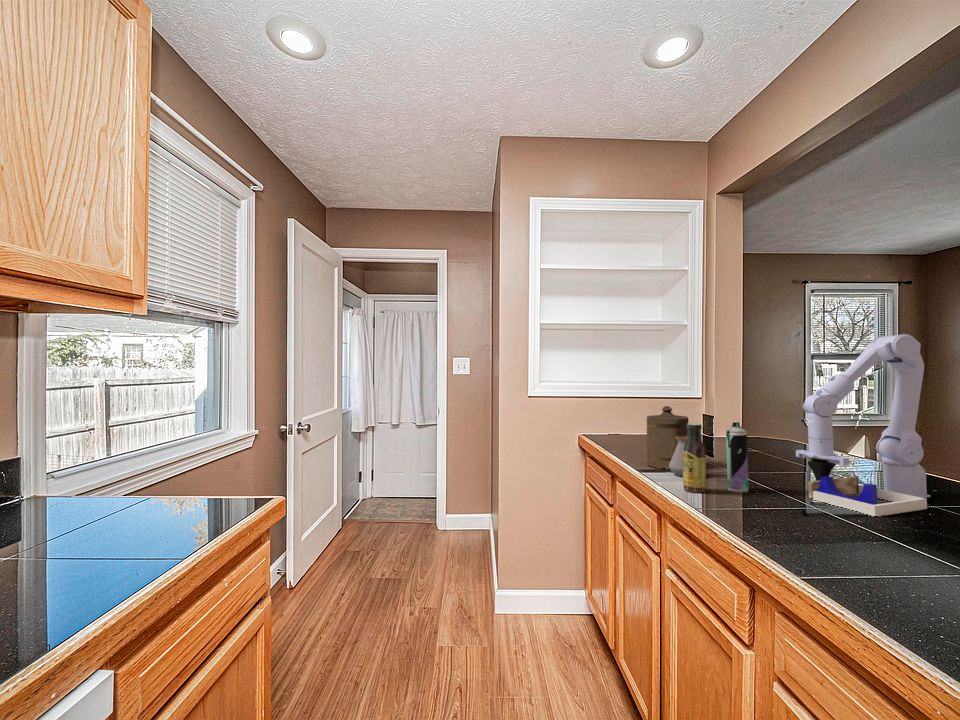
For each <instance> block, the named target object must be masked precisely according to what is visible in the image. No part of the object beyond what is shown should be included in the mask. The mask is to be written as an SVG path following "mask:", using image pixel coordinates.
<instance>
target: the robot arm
mask: <svg viewBox="0 0 960 720" xmlns="http://www.w3.org/2000/svg"><path fill="white" fill-rule="evenodd" d="M921 345H922V344H921V342H919V340H917V339H916V338H915V337H914V336H912V335H910V334H909V333H908V334H906V333H902V334H895V335H880V336H877V337H875V338H874V339H873V340H872V341H871V342H869V343H868V344H867V345H866V346H865V348H864V349H863V351H862V352H861V354H860V355H858V356H857V358H855V360H854V361H853V362H852V363H851V364H850V365H849V366H848V368H846V369H845V371H844V372H843V373H842V374H841V373H840V374H839V373H838V374H834V375H831V376H829V377H828V378H827V382H826V383H825V384H823V386H822V387H820V388H819V389H816V390H815V394H811V395H809V396H808V397H806V398H805V400H804V402H803V404H802V408H803V409H802V410H804V412H805V413H806V416H807V437H808V441H807V442H808V450H805V449H796V450H795V457H796V458H804V459H809V460H808V461H807V465H808V466H809V468H810V470H811V471H812V474H813V475H814V478H815V481H820V477H825V476H828V477H830V475H831V473H832V471H833V470H834V467H836V465H839V466H845V467H846V466H849V465H850V459H849V457H845V456H842V455H837V454H835V453H834V433H833V432H834V431H833V429H834V427H833V426H834V425H833V414H836V412H837V409H838V405H839V404H840V402H842V401H844V399H845V398H846V397H847V396H848V395H849V394H851V392H852V391H853V390H854V389H855V382H856V381H857V380H858V379H860V378H861V377H862V376H863V375H864V374H866V372H868V371H869V370H870V369H871V368H872V367H874V366H875V365H876V364H877V363H880V362H881V363H882V362H887V363H888V364H889V365H890V366H892V367H893V368H894V369H895V370H896V377H895V384H894V391H893V397H892V405H891V411H890V412H891V413H890V418H889V424H888V425H889V426H888V427H887V428H885V429H884V430H883V431H882V432H881V437H880V439H879V440H878V441H877V443H876V444H875V445H876V446H875V447H876V452H877V453H878V455H879V456H880V457H881V460H882V474H883V490H887V491H892V492H897V493H902V494H906V495H911V496H916V497H921V498H925V499H927V498H930V497H931V495H930V494H928V492H927V491H928V490H927V472H926V471H925V469H924V467H923V466H922V465H920V462H922V459H923V458H924V448H923V446H922V441H923V439H922V437H921V436H920V435H919V433H918V432H917V431H916V424H917V419H918V414H919V413H918V412H919V405H920V400H921V391H922V386H923V385H922V384H923V379H924V372H925V362H924V360H923V357H922V354H921V348H922V346H921Z"/></svg>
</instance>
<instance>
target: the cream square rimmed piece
mask: <svg viewBox="0 0 960 720" xmlns="http://www.w3.org/2000/svg"><path fill="white" fill-rule="evenodd" d="M853 477H855V478H856V487H857V493H859V494H858V495H860V494H861V493H862V491H863V485H864V484H860V481H859V480H860V479H859V475H854V476H853ZM859 484H860V485H859ZM877 498H880V499H879V500H882V499H884V500H883V501H886V500H888V501H887V502H884V503H877V504H876V505H872V504H868V503H864V502H860V501H855V500H851V499H847V498H843V497H839V496H835V495H831V494H827V493H822V492H818V491H813V499H812V501H813V500H817V501H821V502H825V503H828V504H831V505H830V506H832V505H835V506H834V507H836V506H839V507H838V508H840V507H843V508H847V509H850V510H849V511H851V510H854V511H853V512H855V511H858V512H857V513H859V512H861V513H860V514H862V513H864V514H863V515H866V514H868V515H867V516H870V515H871V517H874V516H877V517H883V515H884V516H890V515H895V514H901V513H909V512H914V511H915V512H916V511H923V510H927V509H928V501H927V500H928V499H927V498H921V497H916V496H911V495H906V494H902V493H897V492H892V491H887V490H884V488H883V489H882V488H878V487H877ZM817 501H816V502H817ZM890 501H892V502H890ZM821 502H820V503H821ZM828 504H827V505H828ZM843 508H842V509H843ZM847 509H846V510H847Z"/></svg>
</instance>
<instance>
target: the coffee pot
mask: <svg viewBox="0 0 960 720" xmlns="http://www.w3.org/2000/svg"><path fill="white" fill-rule="evenodd" d="M675 438H676V440H677V441H678V445H677V447H676V449H675V452H674V454H673V457H672V459H671V461H670V464H669V468H670V471H671V473H673V474H674V476H676V475H677V476H676V477H680V476H681V477H680V478H683V449H684V446H685V443H686V440H687V436H677V437H675Z"/></svg>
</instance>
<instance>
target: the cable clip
mask: <svg viewBox="0 0 960 720" xmlns="http://www.w3.org/2000/svg"><path fill="white" fill-rule="evenodd" d="M833 479H834V478H833V476H829V477H828V476H825V477H820V486H821V489H817V491H818V492H822V493H827V494H831V495H835V496H839V497H843V498H847V499H851V500H855V501H860V502H864V503H868V504H872V505H876V504H878V499H877V488H878V485H877V484H876V483H875V484H873V483H866V484H862V485H863V491H862V493H861V494H858V495H857V497H853V496H852V497H851V496H849V495H844V494H842V493H841V492H840V491H839V490H838V489H837V488H836V486H835V484H834V482H833Z"/></svg>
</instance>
